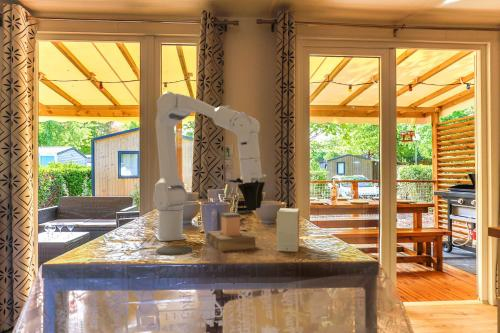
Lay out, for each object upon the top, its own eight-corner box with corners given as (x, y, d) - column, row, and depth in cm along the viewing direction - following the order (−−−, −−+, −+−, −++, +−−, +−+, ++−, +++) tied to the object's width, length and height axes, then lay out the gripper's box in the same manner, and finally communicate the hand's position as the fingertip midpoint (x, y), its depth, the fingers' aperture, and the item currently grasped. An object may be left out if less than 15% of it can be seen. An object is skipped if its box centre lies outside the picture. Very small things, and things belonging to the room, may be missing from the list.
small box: (297, 252, 86) (298, 211, 86) (276, 251, 87) (276, 211, 87) (299, 245, 94) (299, 208, 94) (279, 244, 95) (279, 207, 95)
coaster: (153, 248, 89) (153, 247, 89) (187, 245, 93) (187, 244, 93) (159, 256, 81) (159, 254, 81) (195, 253, 85) (195, 251, 85)
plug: (221, 243, 96) (221, 213, 96) (234, 242, 97) (234, 212, 97) (225, 247, 92) (226, 215, 92) (240, 245, 93) (240, 214, 94)
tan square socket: (207, 241, 98) (207, 231, 98) (238, 239, 102) (239, 229, 102) (220, 251, 87) (220, 239, 87) (255, 247, 91) (255, 236, 91)
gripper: (260, 156, 84) (265, 210, 83) (267, 159, 98) (272, 206, 97) (232, 159, 85) (237, 212, 84) (244, 162, 99) (248, 207, 98)
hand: (254, 209), depth 91 cm, fingers open, 7 cm apart
